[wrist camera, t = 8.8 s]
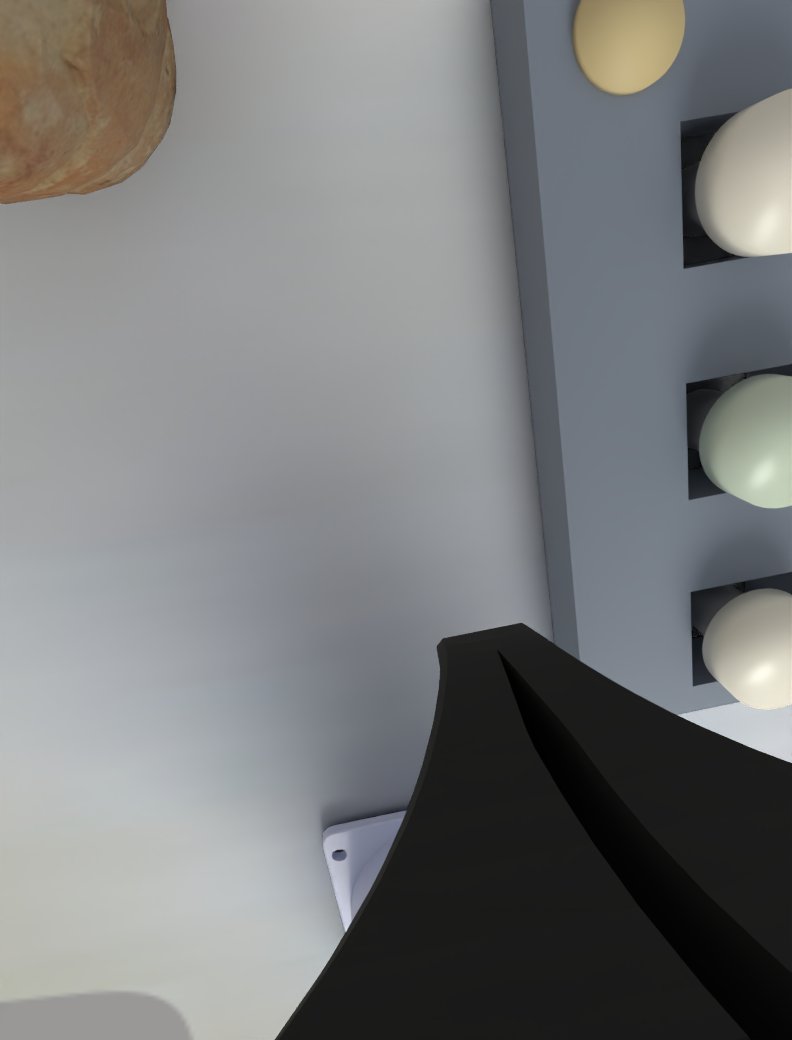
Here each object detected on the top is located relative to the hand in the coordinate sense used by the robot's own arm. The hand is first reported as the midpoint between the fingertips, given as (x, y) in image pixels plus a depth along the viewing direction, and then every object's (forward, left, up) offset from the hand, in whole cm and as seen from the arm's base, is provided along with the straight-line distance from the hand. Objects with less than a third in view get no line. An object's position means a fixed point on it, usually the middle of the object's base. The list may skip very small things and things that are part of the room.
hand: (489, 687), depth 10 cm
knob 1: (+7, -9, -10) cm, 15 cm away
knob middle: (+1, -9, -10) cm, 14 cm away
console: (+2, -9, -10) cm, 14 cm away
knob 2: (-5, -9, -10) cm, 15 cm away
